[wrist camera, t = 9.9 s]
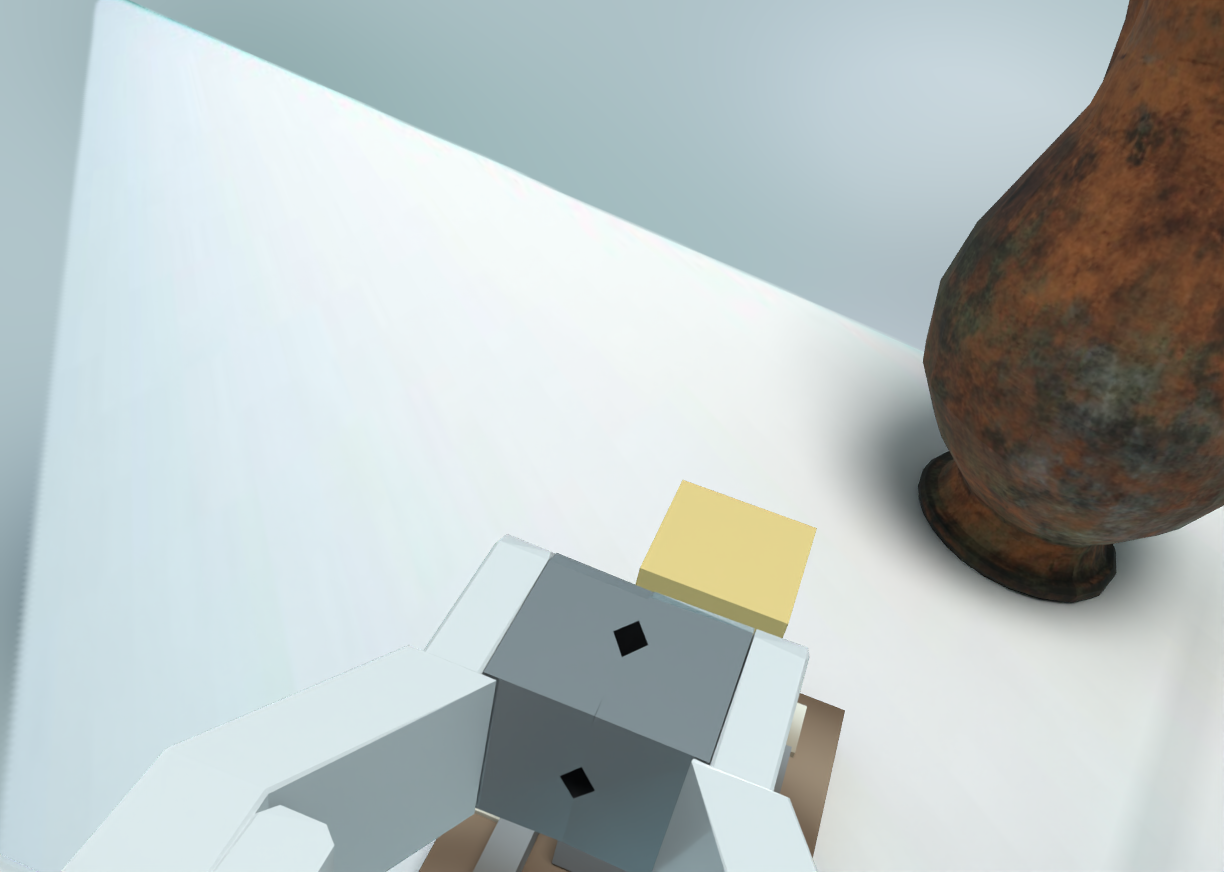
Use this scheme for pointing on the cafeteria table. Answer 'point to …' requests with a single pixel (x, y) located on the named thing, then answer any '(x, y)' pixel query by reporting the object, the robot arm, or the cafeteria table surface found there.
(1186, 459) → the brown vase
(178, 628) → the cafeteria table surface
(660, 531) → the slider tab
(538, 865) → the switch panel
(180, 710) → the cafeteria table surface
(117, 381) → the cafeteria table surface
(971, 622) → the cafeteria table surface
